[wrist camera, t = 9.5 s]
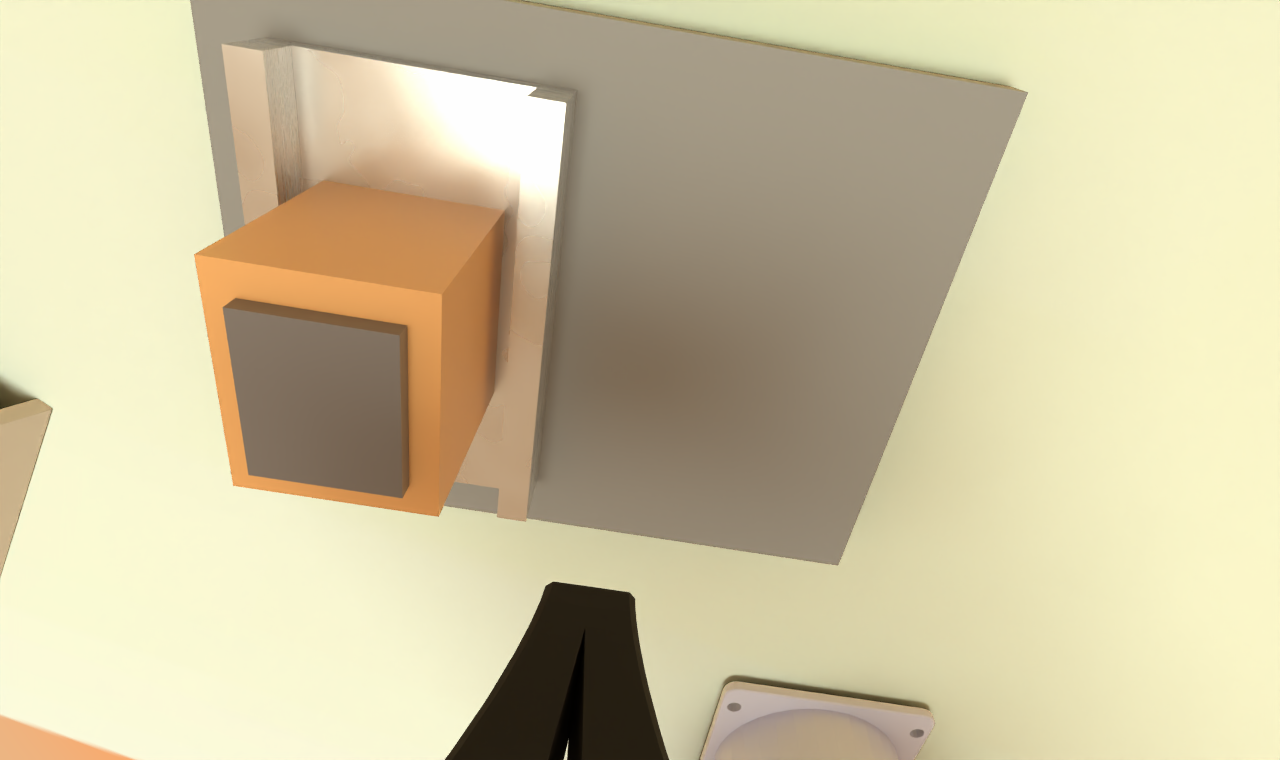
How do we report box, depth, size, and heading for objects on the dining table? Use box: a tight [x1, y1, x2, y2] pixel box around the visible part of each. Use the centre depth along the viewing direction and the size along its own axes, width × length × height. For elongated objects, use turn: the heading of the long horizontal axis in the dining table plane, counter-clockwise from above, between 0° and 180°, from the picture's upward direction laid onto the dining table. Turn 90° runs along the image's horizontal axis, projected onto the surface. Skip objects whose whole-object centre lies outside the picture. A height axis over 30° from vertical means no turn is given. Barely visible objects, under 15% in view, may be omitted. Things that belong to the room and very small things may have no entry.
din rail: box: [221, 37, 578, 521], centre depth 17 cm, size 11×7×2 cm, turn 171°
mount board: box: [190, 0, 1028, 565], centre depth 19 cm, size 14×18×1 cm
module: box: [194, 180, 505, 517], centre depth 15 cm, size 5×4×5 cm
